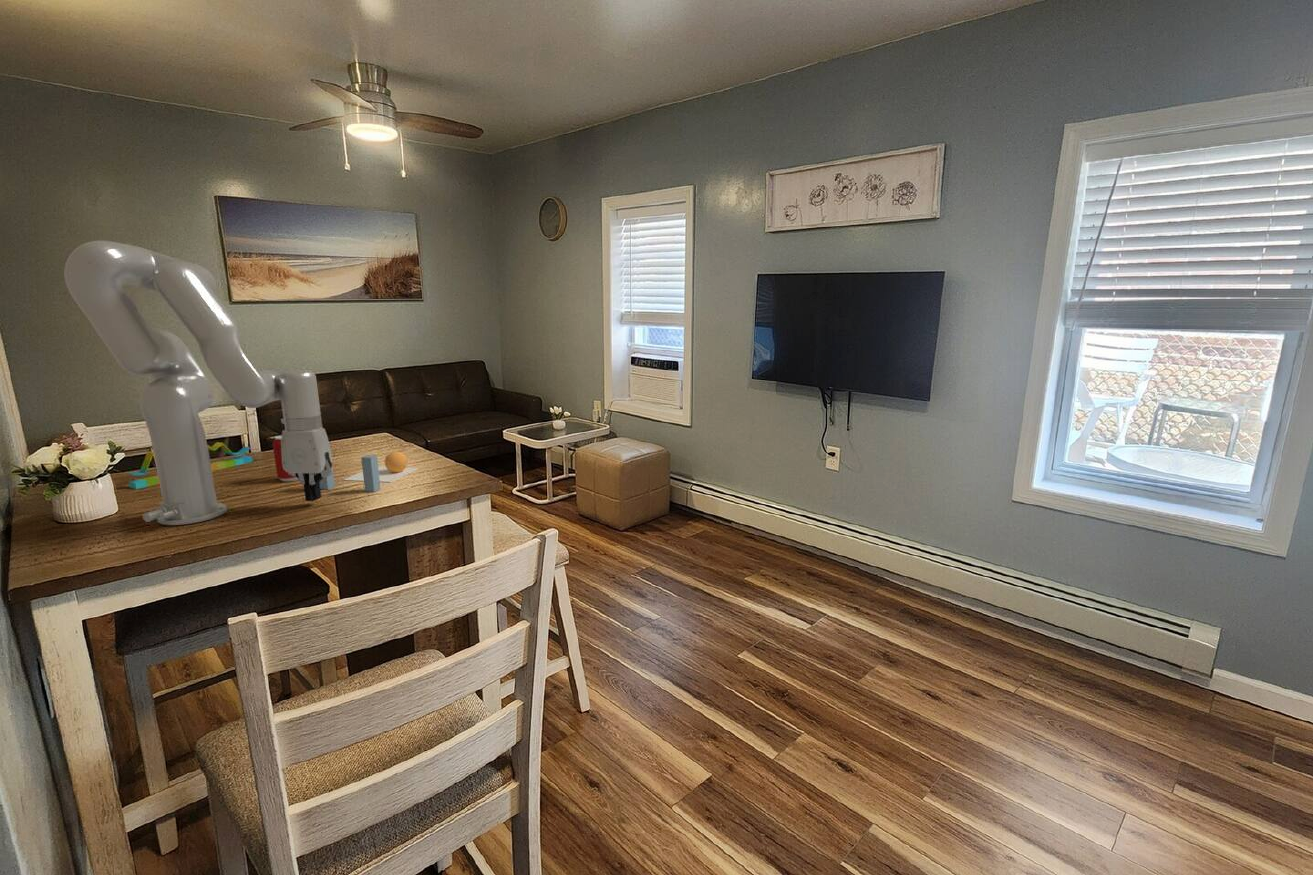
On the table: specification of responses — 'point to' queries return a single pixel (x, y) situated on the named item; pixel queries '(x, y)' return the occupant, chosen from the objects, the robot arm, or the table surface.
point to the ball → (396, 461)
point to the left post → (327, 482)
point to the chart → (214, 466)
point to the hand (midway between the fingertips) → (313, 499)
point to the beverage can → (278, 461)
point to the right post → (370, 473)
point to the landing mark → (383, 475)
